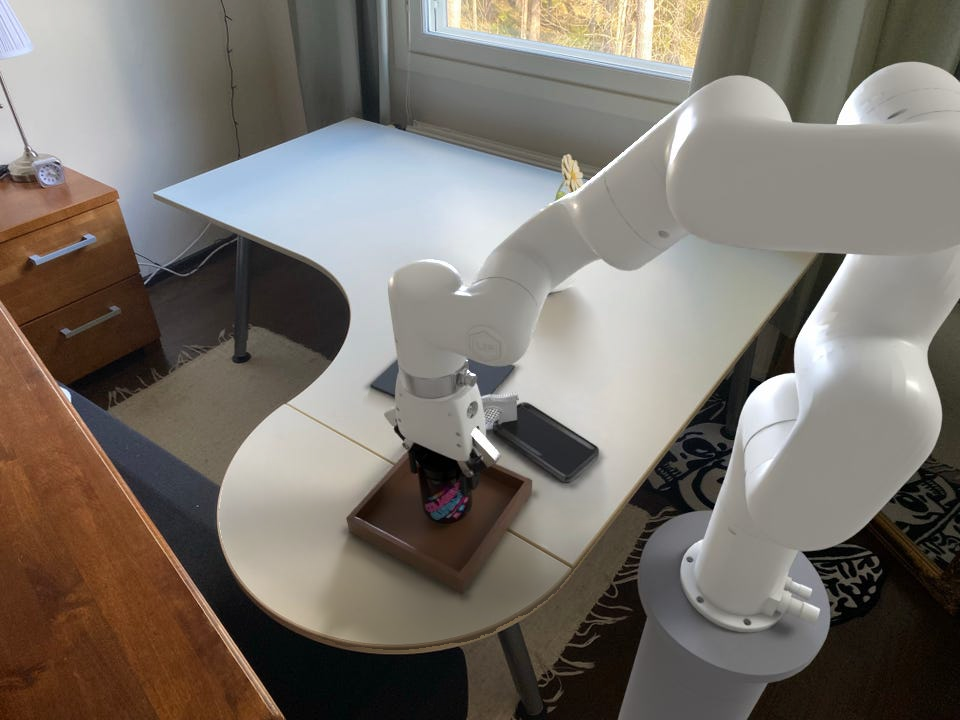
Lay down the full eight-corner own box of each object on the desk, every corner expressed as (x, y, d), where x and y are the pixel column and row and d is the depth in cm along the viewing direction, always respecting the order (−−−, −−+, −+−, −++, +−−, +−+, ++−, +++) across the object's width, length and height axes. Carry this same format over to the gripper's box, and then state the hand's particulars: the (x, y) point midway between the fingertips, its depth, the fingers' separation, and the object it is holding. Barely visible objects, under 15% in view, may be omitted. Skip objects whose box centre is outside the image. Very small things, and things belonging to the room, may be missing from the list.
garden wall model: (442, 439, 99) (438, 409, 95) (439, 431, 100) (436, 401, 97) (519, 423, 101) (519, 394, 97) (516, 416, 102) (515, 386, 98)
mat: (514, 367, 111) (515, 365, 111) (464, 426, 101) (464, 424, 101) (426, 334, 119) (426, 333, 118) (370, 386, 108) (370, 384, 108)
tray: (531, 493, 91) (532, 479, 89) (463, 594, 79) (462, 580, 78) (425, 445, 98) (424, 431, 96) (348, 531, 86) (345, 517, 85)
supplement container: (413, 519, 86) (405, 465, 79) (433, 480, 91) (426, 426, 84) (463, 532, 84) (458, 478, 78) (480, 492, 89) (477, 437, 82)
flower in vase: (552, 305, 125) (561, 180, 109) (506, 283, 131) (508, 161, 115) (592, 277, 133) (606, 156, 117) (547, 257, 139) (554, 140, 123)
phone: (524, 400, 104) (602, 449, 95) (523, 405, 104) (601, 454, 96) (488, 426, 99) (567, 480, 91) (488, 431, 100) (567, 485, 92)
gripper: (520, 374, 71) (519, 483, 83) (390, 328, 79) (406, 434, 90) (484, 417, 67) (488, 526, 78) (350, 364, 74) (371, 471, 85)
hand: (444, 476), depth 84 cm, fingers closed on supplement container, 6 cm apart
